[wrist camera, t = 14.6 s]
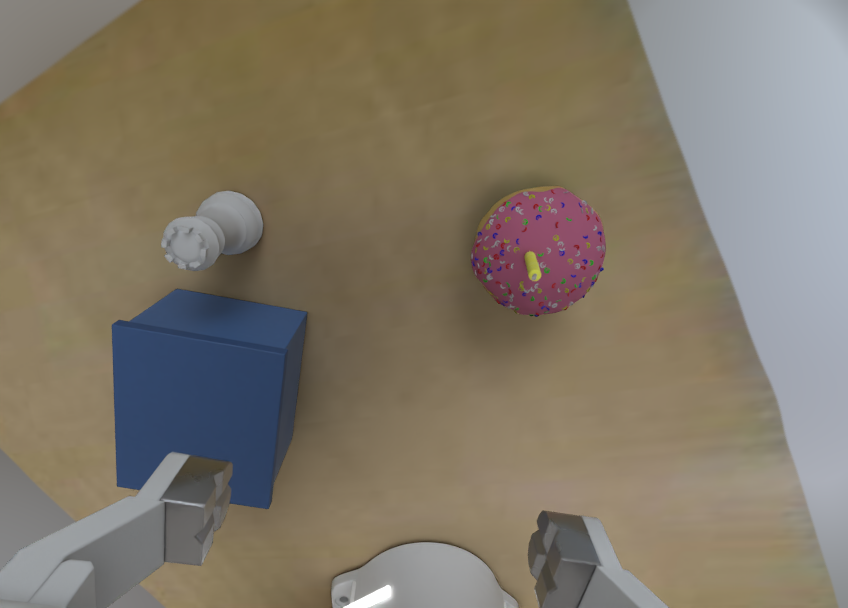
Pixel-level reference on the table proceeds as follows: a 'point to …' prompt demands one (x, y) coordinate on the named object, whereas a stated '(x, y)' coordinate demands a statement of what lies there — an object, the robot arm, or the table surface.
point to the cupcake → (539, 250)
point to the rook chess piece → (213, 231)
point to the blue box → (207, 388)
